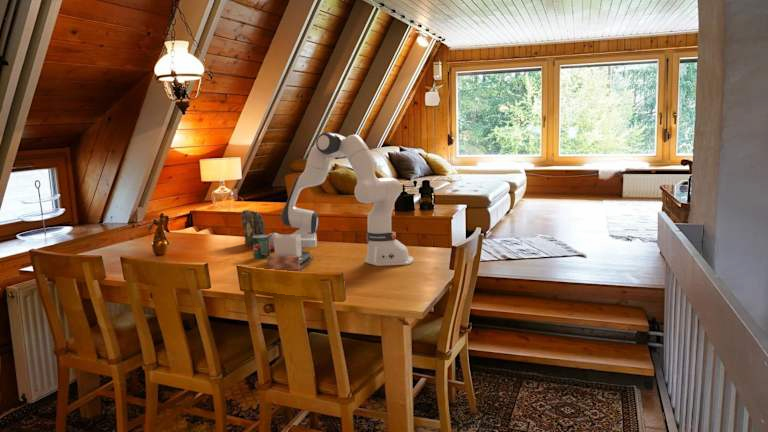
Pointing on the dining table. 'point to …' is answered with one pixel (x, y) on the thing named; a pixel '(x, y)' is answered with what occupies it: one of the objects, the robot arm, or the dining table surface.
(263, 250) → the canned tomato
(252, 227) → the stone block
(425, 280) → the dining table surface
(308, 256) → the rollers
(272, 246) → the decorative fruit
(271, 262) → the roller bed
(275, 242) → the pale grey cube
